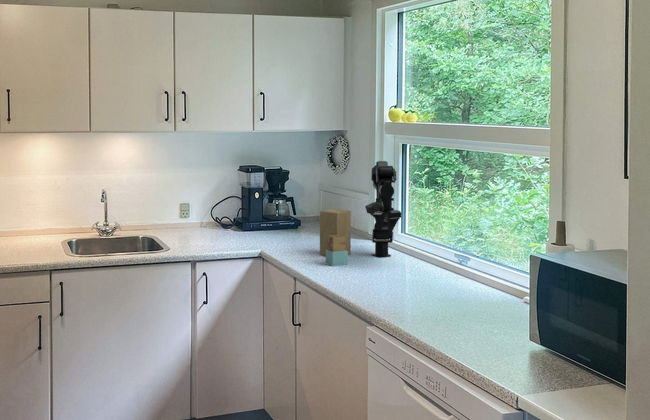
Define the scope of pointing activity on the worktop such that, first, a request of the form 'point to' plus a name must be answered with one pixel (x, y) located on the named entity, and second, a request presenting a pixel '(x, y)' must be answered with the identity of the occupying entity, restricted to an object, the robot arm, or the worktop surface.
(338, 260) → the teal block
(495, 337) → the worktop surface
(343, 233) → the wooden block
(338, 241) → the walnut cube
